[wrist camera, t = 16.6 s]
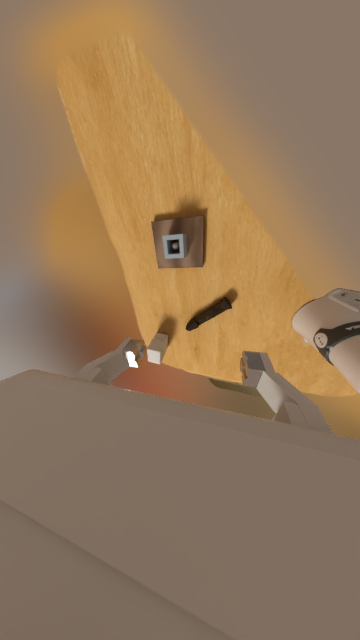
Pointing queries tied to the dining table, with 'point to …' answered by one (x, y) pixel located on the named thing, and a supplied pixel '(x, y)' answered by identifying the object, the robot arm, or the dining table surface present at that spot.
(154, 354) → the small box
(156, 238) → the mounting plate
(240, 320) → the dining table surface
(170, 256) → the collar
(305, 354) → the dining table surface
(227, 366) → the dining table surface
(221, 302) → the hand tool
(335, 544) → the robot arm
